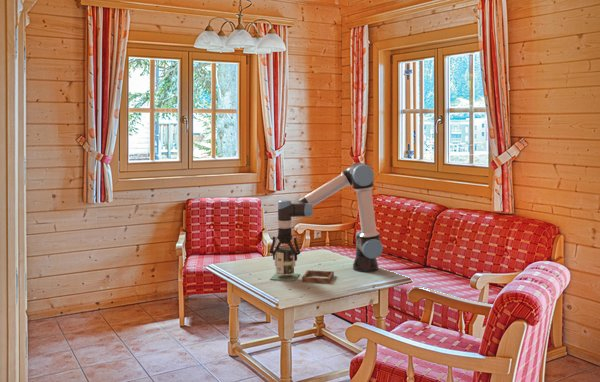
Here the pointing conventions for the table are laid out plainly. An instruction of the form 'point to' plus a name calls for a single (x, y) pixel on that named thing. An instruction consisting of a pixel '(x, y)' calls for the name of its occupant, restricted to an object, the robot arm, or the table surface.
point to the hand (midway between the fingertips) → (285, 265)
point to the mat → (284, 277)
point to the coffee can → (284, 261)
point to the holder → (318, 273)
